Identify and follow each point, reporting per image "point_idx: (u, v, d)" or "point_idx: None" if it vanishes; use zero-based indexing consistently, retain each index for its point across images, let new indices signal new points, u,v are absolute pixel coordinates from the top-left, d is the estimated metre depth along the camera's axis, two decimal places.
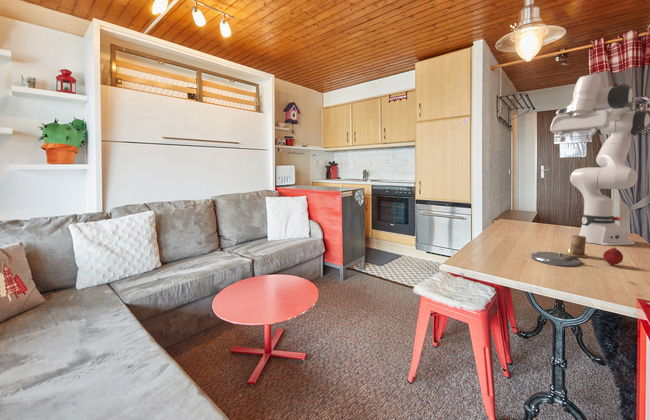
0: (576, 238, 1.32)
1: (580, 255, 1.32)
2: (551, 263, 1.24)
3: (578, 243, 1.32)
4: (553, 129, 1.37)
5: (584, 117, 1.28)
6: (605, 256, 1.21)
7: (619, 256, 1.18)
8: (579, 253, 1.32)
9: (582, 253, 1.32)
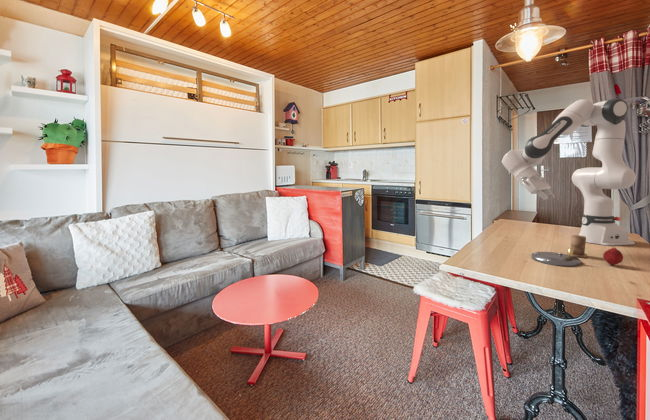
0: (576, 238, 1.32)
1: (580, 255, 1.32)
2: (551, 263, 1.24)
3: (578, 243, 1.32)
4: None
5: None
6: (605, 256, 1.21)
7: (619, 256, 1.18)
8: (579, 253, 1.32)
9: (582, 253, 1.32)
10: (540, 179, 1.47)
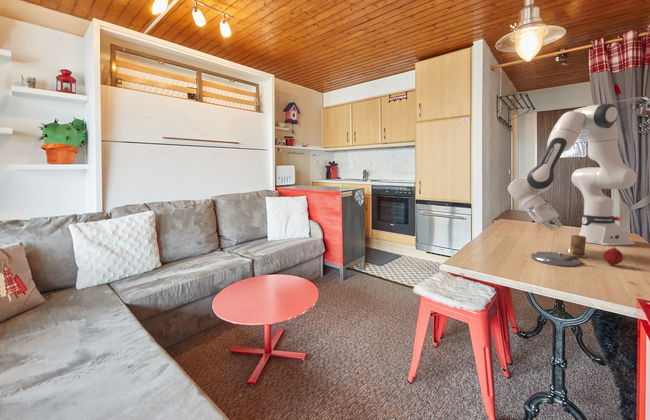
0: (576, 238, 1.32)
1: (580, 255, 1.32)
2: (551, 263, 1.24)
3: (578, 243, 1.32)
4: None
5: None
6: (605, 256, 1.21)
7: (619, 256, 1.18)
8: (579, 253, 1.32)
9: (582, 253, 1.32)
10: (547, 207, 1.46)
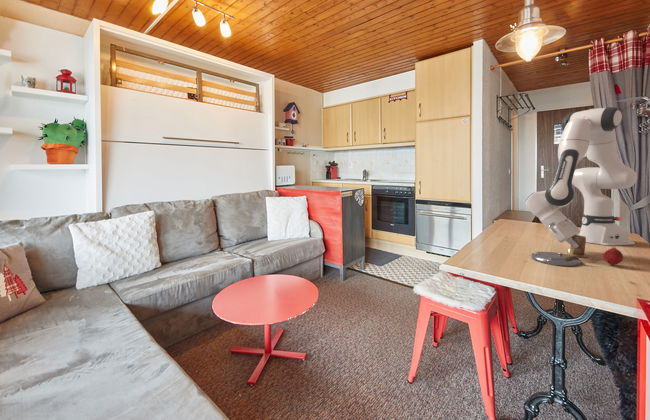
0: (576, 238, 1.32)
1: (580, 255, 1.32)
2: (551, 263, 1.24)
3: (578, 243, 1.32)
4: None
5: None
6: (605, 256, 1.21)
7: (619, 256, 1.18)
8: (579, 253, 1.32)
9: (582, 253, 1.32)
10: (568, 223, 1.40)
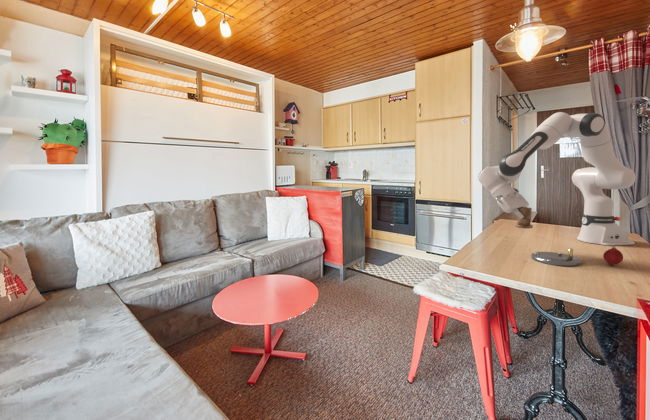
0: (522, 209, 1.36)
1: (526, 226, 1.35)
2: (551, 263, 1.24)
3: (524, 214, 1.36)
4: None
5: None
6: (605, 256, 1.21)
7: (619, 256, 1.18)
8: (525, 224, 1.36)
9: (528, 224, 1.36)
10: (517, 196, 1.44)
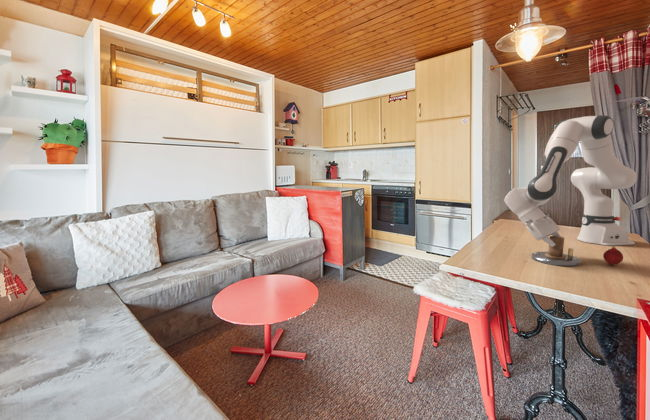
0: (554, 239, 1.27)
1: (558, 257, 1.27)
2: (551, 263, 1.24)
3: (556, 244, 1.27)
4: None
5: None
6: (605, 256, 1.21)
7: (619, 256, 1.18)
8: (557, 255, 1.27)
9: (560, 255, 1.27)
10: (547, 220, 1.35)
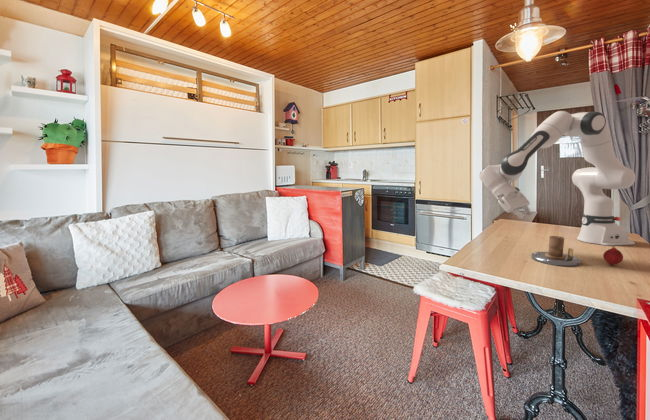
0: (554, 239, 1.27)
1: (558, 257, 1.27)
2: (551, 263, 1.24)
3: (556, 244, 1.27)
4: None
5: None
6: (605, 256, 1.21)
7: (619, 256, 1.18)
8: (557, 255, 1.27)
9: (560, 255, 1.27)
10: (518, 195, 1.44)
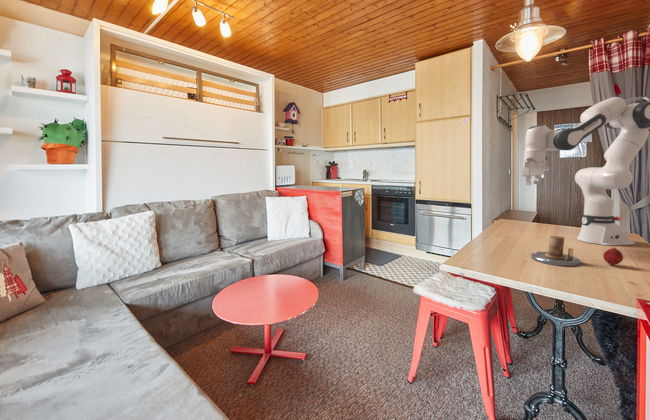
0: (554, 239, 1.27)
1: (558, 257, 1.27)
2: (551, 263, 1.24)
3: (556, 244, 1.27)
4: None
5: None
6: (605, 256, 1.21)
7: (619, 256, 1.18)
8: (557, 255, 1.27)
9: (560, 255, 1.27)
10: (541, 164, 1.53)
